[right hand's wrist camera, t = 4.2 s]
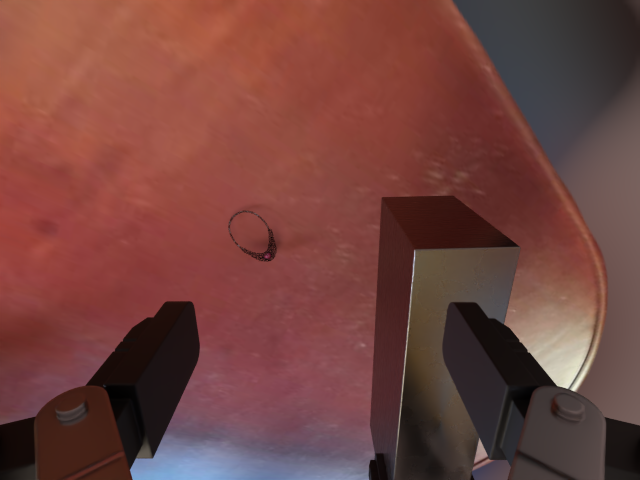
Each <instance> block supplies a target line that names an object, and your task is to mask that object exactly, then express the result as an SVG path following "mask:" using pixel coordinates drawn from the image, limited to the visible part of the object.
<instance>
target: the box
mask: <svg viewBox="0 0 640 480" xmlns="http://www.w3.org/2000/svg"><path fill="white" fill-rule="evenodd" d="M519 253H520V246H518V245H517V244H516V243H514V242H513V241H512V240H510V239H509V238H508V237H506V236H505V235H504V234H503V233H501V232H500V231H499V230H497V229H496V228H495V227H493V226H492V225H491V224H490V223H488V222H487V221H486V220H484V219H483V218H482V217H480V216H479V215H478V214H477V213H475V212H474V211H473V210H471V209H470V208H469V207H467V206H466V205H465V204H464V203H462V202H461V201H460V200H458V199H457V198H456V197H454V196H418V197H382V202H381V221H380V241H379V261H378V280H377V300H376V319H375V339H374V358H373V378H372V398H371V417H370V428H371V434H372V440H373V445H374V451H375V453H383V457H384V462H385V467H386V473H387V478H388V480H470V478H471V474H472V469H473V464H474V460H475V455H476V451H477V446H478V441H479V436H478V433H477V431H476V429H475V427H474V425H473V423H472V421H471V418H470V416H469V414H468V412H467V410H466V408H465V406H464V403H463V401H462V399H461V397H460V395H459V393H458V391H457V389H456V386H455V384H454V382H453V380H452V378H451V376H450V374H449V371H448V369H447V367H446V365H445V362H444V359H443V353H442V342H443V336H444V329H445V322H446V316H447V309H448V305H449V304H450V303H451V302H476V303H477V304H478V305H479V306H480V307H481V309H482V310H483V311H484V313H485V314H486V315H487V317H488V318H495V319H497V320H498V321H500V322H501V323H503V324H504V322H505V317H506V312H507V308H508V303H509V299H510V294H511V289H512V285H513V280H514V276H515V271H516V266H517V262H518V257H519Z"/></svg>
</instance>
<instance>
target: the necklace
mask: <svg viewBox="0 0 640 480" xmlns="http://www.w3.org/2000/svg"><path fill="white" fill-rule="evenodd" d="M245 212H248V211H245ZM240 213H243V211H240ZM240 213H239V212H238V213H236V214H235V215H238V214H240ZM249 213H253V214H254V212H251V211H250V212H249ZM235 215H233V217H234V216H235ZM255 215H256V213H255ZM256 216H257V215H256ZM258 216H259V215H258ZM259 218H260V219H261V217H259ZM231 220H232V219H231ZM231 220H230V221H229V224H230V223H231ZM262 221H264V220H263V219H262ZM264 222H265V221H264ZM265 223H266V222H265ZM266 224H267V223H266ZM266 224H265V225H266ZM266 226H267V225H266ZM228 227H229V226H228ZM267 228H268V227H267ZM228 229H229V230H230V227H229V228H228ZM269 230H270V229H269V228H268V233H270V235H269V237H270V238H269V239H270V240H271V242H275V240H273V239H274V237H273V236H272V235H273V233H272V232H269ZM271 230H272V229H271ZM229 233H231V231H230V232H229ZM271 233H272V234H271ZM230 235H231V236H232V234H230ZM271 238H273V239H271ZM233 239H234V238H233ZM272 240H273V241H272ZM233 241H234V240H233ZM234 242H235V244H237V243H236V241H234ZM269 242H270V241H269ZM271 242H270V244H271ZM237 245H238V244H237ZM238 246H239V245H238ZM268 246H270V247H268V248H270V250H269V249H267V251H268V250H269V251H271V250H273V249H274V248H276V249H277V247H276V244H275V243H274V246H275V247H274V246H273V245H268ZM271 246H273V249H271ZM239 248H240V247H239ZM245 248H246V247H245ZM276 249H275V251H276ZM241 250H242V251H243V252H244V250H246V249H244V250H243V248H242V249H241ZM247 251H248V250H247ZM247 251H245V253H246V252H247ZM269 251H268V252H266V253H267V254H266V253H265V252H264V254H265V255H264V254H263V253H260V254H262V256H264V257H262V256H261V255H260V254H259V253H257V254H259V255H260V256H261V257H262V259H263V260H264V259H265V258H266V260H264V261H267V260H268V259H270V258H271V257H273V256H274V255H275V254H276V253H275V254H274V251H271V252H270V253H269ZM248 252H249V253H246V254H249V255H250V256H251V255H253V256H254V255H256V254H254V253H255V252H254V253H253V252H252V253H251V251H248ZM272 252H273V254H272ZM259 255H258V257H259ZM271 255H272V256H271ZM253 256H252V257H253ZM261 257H259V258H258V260H259V259H261ZM274 257H275V256H274ZM253 258H256V260H257V256H255V257H253ZM272 259H274V258H271V259H270V260H272ZM263 260H262V261H263ZM268 261H269V260H268ZM268 261H267V262H268Z"/></svg>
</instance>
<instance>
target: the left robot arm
mask: <svg viewBox="0 0 640 480" xmlns="http://www.w3.org/2000/svg"><path fill="white" fill-rule="evenodd" d="M369 480H388V478H387V473H386V467H385V462H384V457H383V453H375V460H370V464H369ZM470 480H474V478H473V475H472V474H471V478H470Z"/></svg>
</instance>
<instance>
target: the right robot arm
mask: <svg viewBox="0 0 640 480" xmlns="http://www.w3.org/2000/svg"><path fill="white" fill-rule="evenodd" d="M199 350H200V343H199V336H198V329H197V322H196V316H195V309H194V305H193V303H192V302H190V301H167V302H165V303H164V304H163V306H162V307H161V308H160V310H159V311H158V312H157V314H156V315H155V316H154V318H146V319H145V320H143V321H142V322H140V323H139V324H137V325H136V326H134V327H133V328H132V329H131V330H130V331H129V333H128V334H127V335H126V336H125V338H124V339H123V342H120V344H119V345H118V346H117V347H116V349H115V352H112V354H111V355H110V356H109V357H108V358H107V360H106V361H105V362H104V363H103V365H102V366H101V367H100V368H99V370H98V371H97V372H96V373H95V375H94V376H93V377H92V378H91V379H90V381H89V382H88V383H87V384H86V386H82V387H78V388H74V389H71V390H69V391H66V392H64V393H62V394H60V395H58V396H57V397H55V398H53V399H52V400H51V401H49V402H48V403H47V404H46V405H45V406H44V407H43V408H42V409H41V410H40V411H39V412H38V414H37V416H36V417H32V418H28V419H24V420H19V421H15V422H11V423H7V424H2V425H0V480H132V476H131V473H130V469H131V467H132V465H133V463H134V461H135V459H136V458H153V457H154V455H155V453H156V451H157V448H158V446H159V444H160V442H161V440H162V438H163V435H164V433H165V431H166V429H167V427H168V425H169V422H170V420H171V418H172V416H173V414H174V412H175V409H176V407H177V405H178V403H179V401H180V399H181V396H182V394H183V392H184V390H185V388H186V386H187V383H188V381H189V379H190V377H191V375H192V373H193V370H194V368H195V366H196V364H197V361H198V357H199ZM442 353H443V359H444V362H445V365H446V367H447V369H448V371H449V374H450V376H451V378H452V380H453V382H454V384H455V386H456V389H457V391H458V393H459V395H460V397H461V399H462V401H463V403H464V406H465V408H466V410H467V412H468V414H469V416H470V418H471V421H472V423H473V425H474V427H475V429H476V431H477V433H478V436H479V438H480V440H481V442H482V444H483V446H484V448H485V450H486V453H487V455H488V457H489V459H490V460H507V461H508V462H509V464H510V466H511V469H510V473H509V476H508V480H640V426H639V425H635V424H631V423H627V422H622V421H618V420H614V419H609V418H606V417H604V416H603V414H602V412H601V411H600V410H599V409H598V408H597V407H596V406H595V405H594V404H593V403H592V402H591V401H589V400H588V399H587V398H585V397H583V396H582V395H580V394H578V393H576V392H574V391H571V390H569V389H566V388H562V387H558V386H557V385H556V384H555V383H554V382H553V381H552V379H551V378H550V377H549V376H548V374H547V373H546V372H545V371H544V370H543V368H542V367H541V366H540V365H539V363H538V362H537V361H536V360H535V359H534V357H533V356H532V355H531V354H530V353H528V352H527V349H526V348H525V346H524V345H523V344H522V343H521V342H519V339H518V338H517V337H516V335H515V334H514V333H513V332H512V331H511V329H510V328H508V327H507V326H505V325H504V324H503V323H501V322H500V321H498V320H497V319H495V318H488V317H487V315H486V314H485V313H484V311H483V310H482V309H481V307H480V306H479V305H478V304H477V303H476V302H451V303H450V304H449V305H448V309H447V316H446V322H445V329H444V336H443V342H442Z"/></svg>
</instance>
